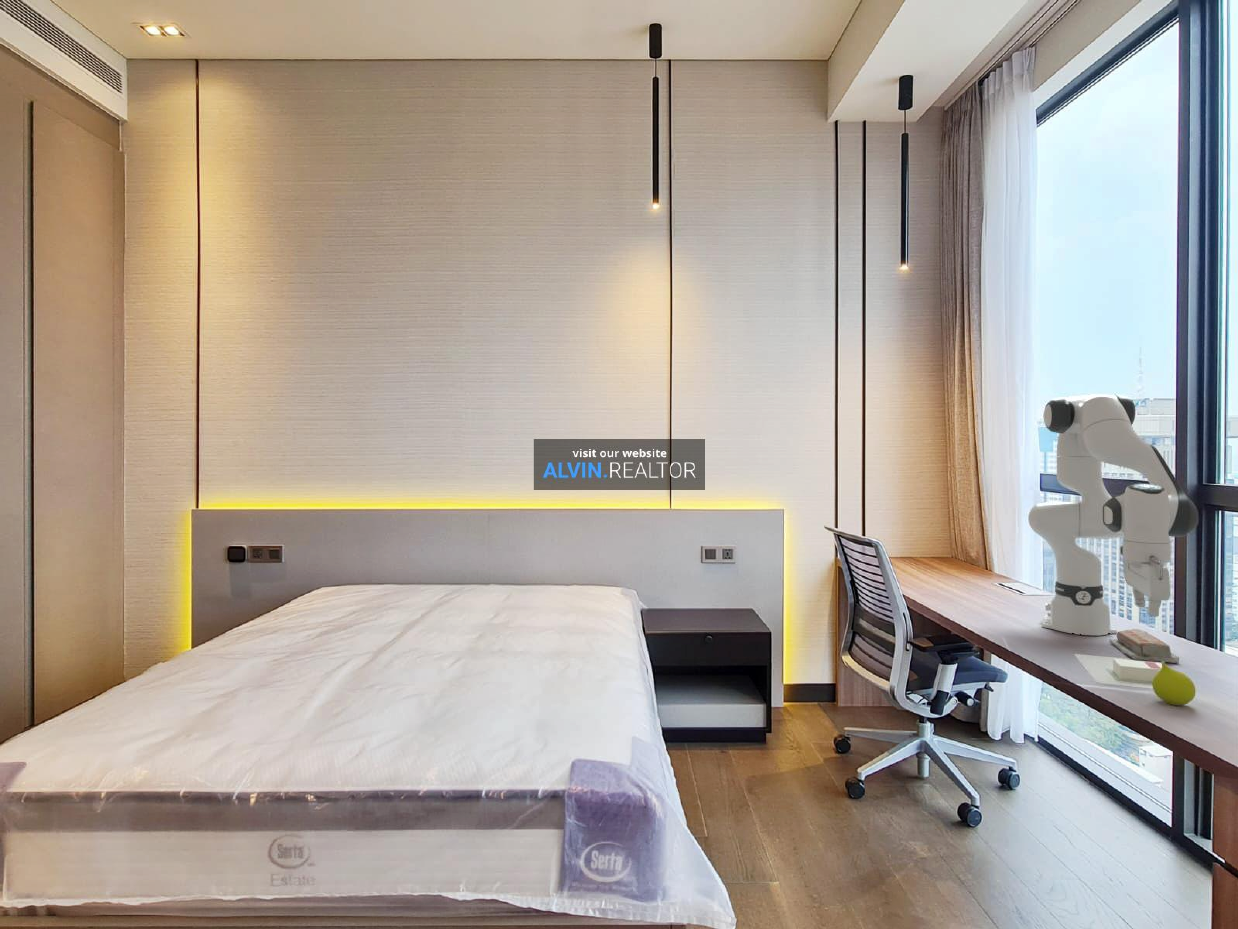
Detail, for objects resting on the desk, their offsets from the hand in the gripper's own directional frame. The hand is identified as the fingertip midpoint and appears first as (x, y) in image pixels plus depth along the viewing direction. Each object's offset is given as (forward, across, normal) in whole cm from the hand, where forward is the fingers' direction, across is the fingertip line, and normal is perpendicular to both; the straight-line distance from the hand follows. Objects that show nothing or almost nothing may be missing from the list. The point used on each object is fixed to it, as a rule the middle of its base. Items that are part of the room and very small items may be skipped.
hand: (1146, 611), depth 157 cm
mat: (+16, +4, +3) cm, 17 cm away
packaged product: (+17, +24, -6) cm, 29 cm away
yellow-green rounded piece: (+16, -16, 0) cm, 23 cm away
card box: (+14, 0, +6) cm, 15 cm away
